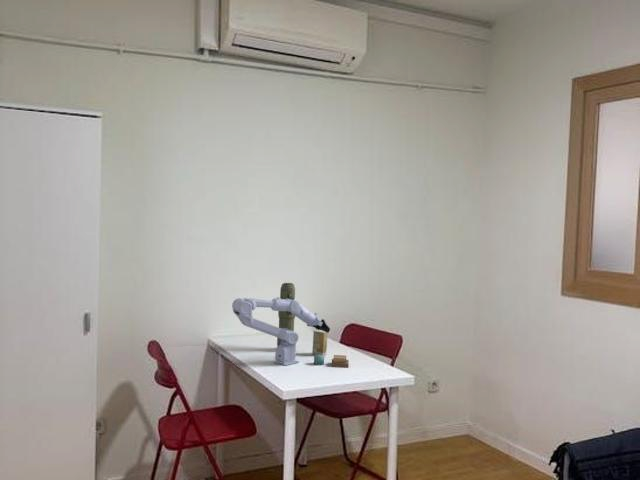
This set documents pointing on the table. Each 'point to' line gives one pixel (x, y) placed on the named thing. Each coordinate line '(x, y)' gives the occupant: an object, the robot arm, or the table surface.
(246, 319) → the robot arm
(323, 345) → the skincare box
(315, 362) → the teal cylinder
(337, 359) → the oak block
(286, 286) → the thermos
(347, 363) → the walnut slab
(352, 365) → the table surface
